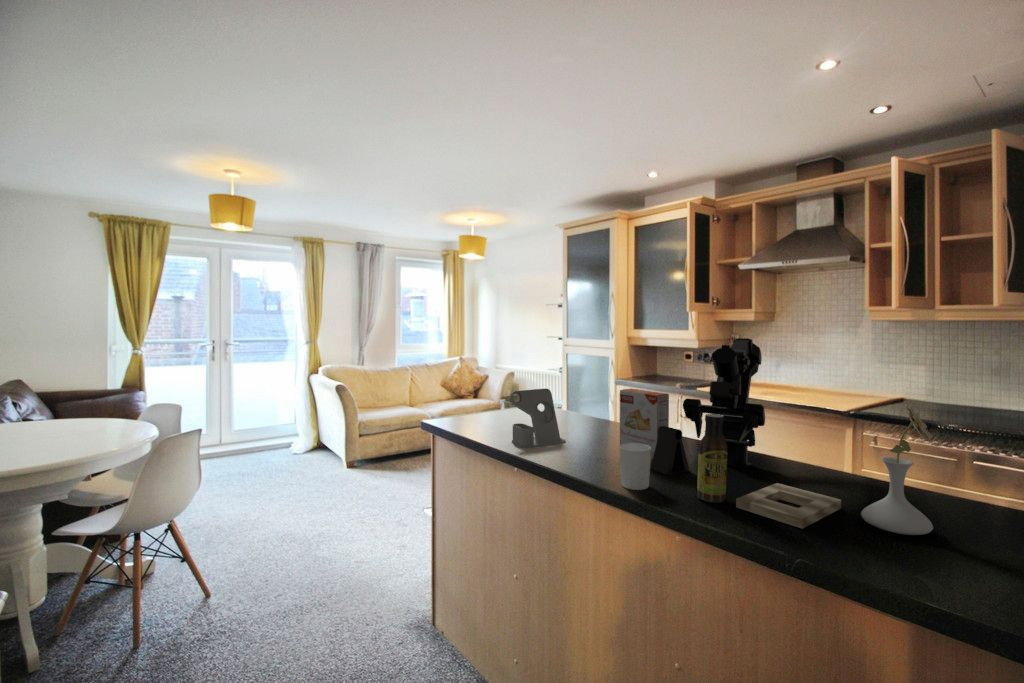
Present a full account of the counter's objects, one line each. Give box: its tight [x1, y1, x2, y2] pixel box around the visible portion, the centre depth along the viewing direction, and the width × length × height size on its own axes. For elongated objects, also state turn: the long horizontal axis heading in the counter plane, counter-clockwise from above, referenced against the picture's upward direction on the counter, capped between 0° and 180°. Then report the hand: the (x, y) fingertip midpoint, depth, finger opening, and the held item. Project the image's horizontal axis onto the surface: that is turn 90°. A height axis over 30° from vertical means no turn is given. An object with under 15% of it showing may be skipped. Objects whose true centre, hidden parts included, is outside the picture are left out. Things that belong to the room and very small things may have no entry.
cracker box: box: [619, 387, 670, 466], centre depth 147 cm, size 14×6×21 cm, turn 37°
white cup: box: [618, 443, 651, 491], centre depth 124 cm, size 8×8×10 cm
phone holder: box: [509, 388, 566, 449], centre depth 170 cm, size 17×10×18 cm, turn 119°
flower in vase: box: [860, 403, 934, 536], centre depth 98 cm, size 13×11×25 cm
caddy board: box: [735, 482, 842, 529], centre depth 109 cm, size 18×14×2 cm
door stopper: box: [650, 426, 690, 476], centre depth 137 cm, size 9×6×12 cm, turn 120°
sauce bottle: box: [696, 413, 728, 504], centre depth 114 cm, size 6×6×20 cm
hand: (717, 439), depth 119 cm, fingers open, 9 cm apart
